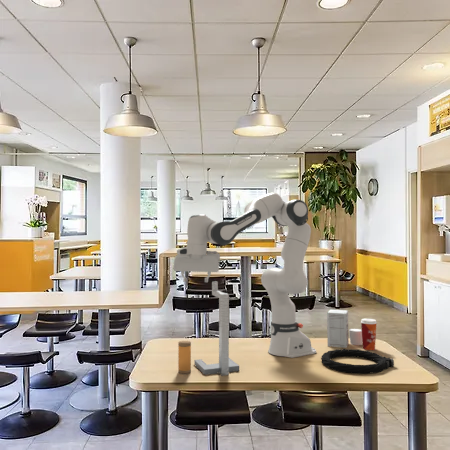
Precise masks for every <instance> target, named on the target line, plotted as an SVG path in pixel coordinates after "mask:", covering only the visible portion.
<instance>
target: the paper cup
mask: <svg viewBox="0 0 450 450" xmlns="http://www.w3.org/2000/svg"><path fill="white" fill-rule="evenodd" d="M360 323H361V324H360V326H361V329H362V350H364V351H375V349H376V338H377V324H378V322H377V320H376V319H375V318H365V317H364V318H361V320H360Z"/></svg>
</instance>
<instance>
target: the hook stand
mask: <svg viewBox="0 0 450 450" xmlns="http://www.w3.org/2000/svg"><path fill="white" fill-rule="evenodd" d="M218 284H219V281H216V280H215V281H212V282H211V295H212V296H214V297H215V298H219V299H218V303H219V304H218V309H219V310H218V363H219V373H218V374H219V375H220V376H222V377H223V376H229V375H230V372H229V358H230V356H229V355H230V354H229V352H230V351H229V350H230V349H229V348H230V342H229V341H230V340H229V338H230V336H229V334H230V325H229V323H230V311H229V310H230V306H229V305H230V303H229V302H230V294H229V293H227V292H223V291H221V290H219V286H218Z"/></svg>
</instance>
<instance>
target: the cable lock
mask: <svg viewBox="0 0 450 450" xmlns="http://www.w3.org/2000/svg"><path fill="white" fill-rule="evenodd" d="M332 358H333V359H335V358H358V359H365V360H369V361H372V362H375V363H372V364H352V363H345V362H344V363H343V362H340V361H336V360H333V359H332ZM320 360H321V361H320V362H321V363H322V364H323V366H325V367H326V368H328V369H329V370H335V371H336V372H340V373H341V372H342V373H347V374H354V375H355V374H356V375H357V374H359V375H361V374H362V375H363V374H364V375H365V374H376V373H379V372H383V371H385V370H387V369H390V368H389V367H391V368H394V366H395V361H394V358H391V357H386V356H382V355H380V354H378V353H376V352H372V351H370V350H364V349H362V350H361V349H352V348H350V349H349V348H339V349H332V350H328V351H326V352H324V353H323V354H322V355H321V357H320Z"/></svg>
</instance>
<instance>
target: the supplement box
mask: <svg viewBox="0 0 450 450" xmlns="http://www.w3.org/2000/svg"><path fill="white" fill-rule="evenodd" d="M326 315H327V316H326V318H327V319H326V323H327V325H326V328H327V333H326V334H327V347H331V346H332V347H335V348H342V349H348V346H349V343H350V339H349V310H345V309H329V310H328V312H327V314H326ZM332 347H331V348H332Z"/></svg>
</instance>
